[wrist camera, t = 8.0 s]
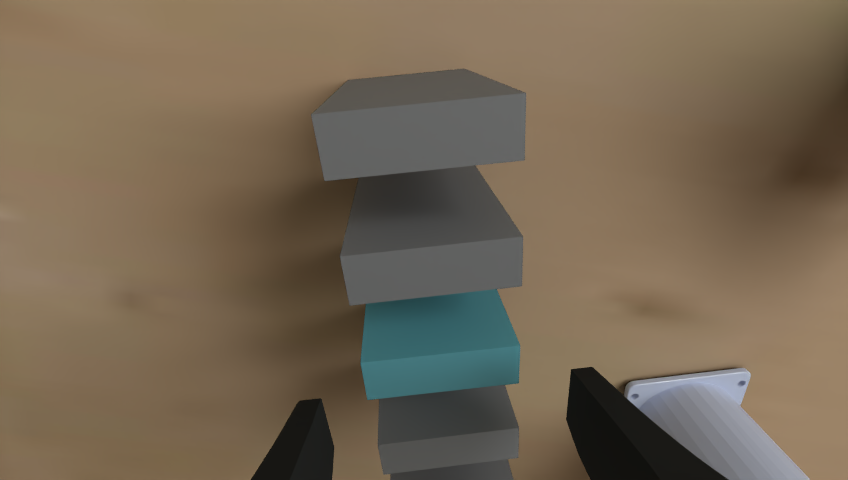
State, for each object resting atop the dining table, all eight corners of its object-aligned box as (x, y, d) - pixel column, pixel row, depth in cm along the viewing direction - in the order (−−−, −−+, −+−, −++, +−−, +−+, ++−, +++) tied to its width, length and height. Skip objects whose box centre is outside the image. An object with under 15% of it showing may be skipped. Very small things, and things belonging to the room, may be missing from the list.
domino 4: (475, 363, 25) (516, 518, 17) (393, 373, 25) (395, 533, 17) (475, 343, 24) (517, 493, 16) (390, 352, 24) (390, 509, 16)
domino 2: (469, 187, 20) (522, 286, 12) (366, 198, 20) (349, 305, 12) (467, 154, 19) (523, 236, 11) (361, 165, 19) (339, 256, 11)
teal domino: (471, 254, 22) (518, 383, 14) (376, 263, 21) (367, 400, 13) (470, 226, 21) (520, 345, 13) (372, 236, 21) (360, 362, 13)
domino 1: (465, 107, 18) (524, 159, 10) (354, 118, 18) (324, 181, 10) (464, 68, 18) (525, 93, 10) (348, 80, 18) (311, 114, 9)
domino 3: (474, 313, 23) (518, 457, 15) (386, 323, 23) (383, 474, 15) (473, 289, 23) (518, 427, 15) (382, 299, 22) (377, 445, 14)
